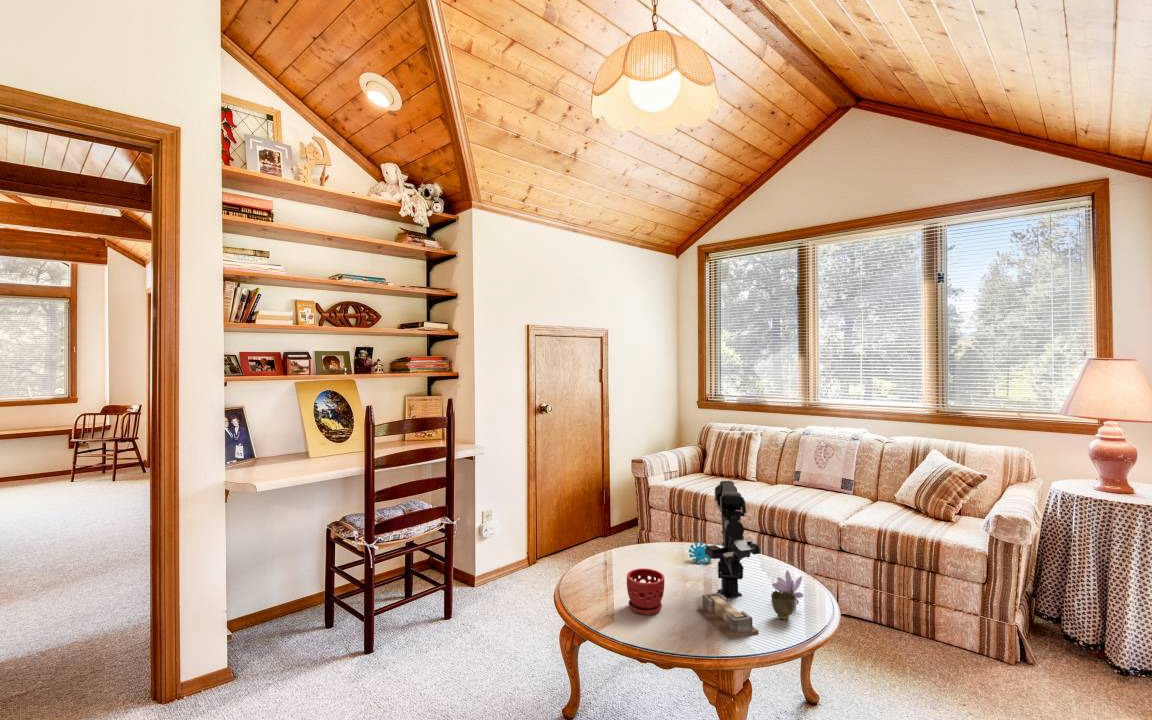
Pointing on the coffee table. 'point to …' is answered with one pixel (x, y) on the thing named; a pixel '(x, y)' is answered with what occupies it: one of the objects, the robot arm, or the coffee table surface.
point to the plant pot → (645, 591)
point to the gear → (699, 553)
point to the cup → (783, 604)
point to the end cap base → (727, 619)
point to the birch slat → (724, 608)
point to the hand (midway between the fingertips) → (732, 574)
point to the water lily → (789, 587)
